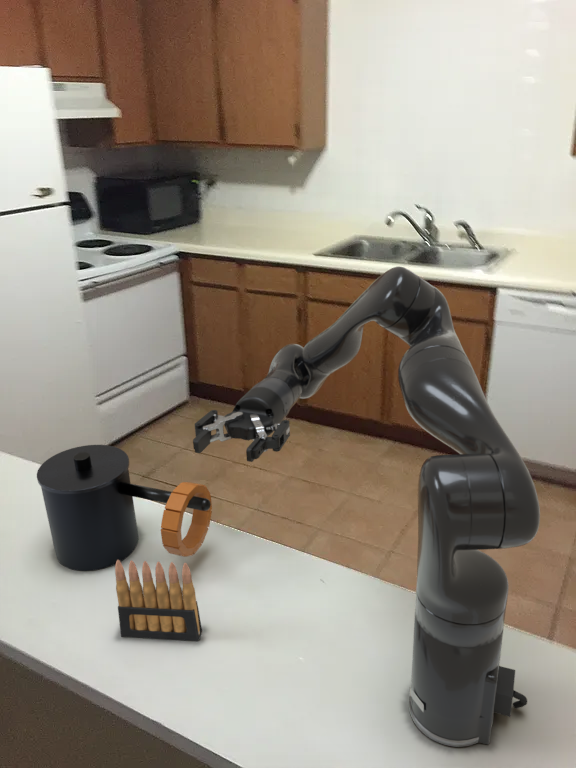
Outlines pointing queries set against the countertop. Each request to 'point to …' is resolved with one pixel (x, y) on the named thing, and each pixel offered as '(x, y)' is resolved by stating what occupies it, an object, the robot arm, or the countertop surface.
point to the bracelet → (175, 517)
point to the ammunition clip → (157, 604)
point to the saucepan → (95, 505)
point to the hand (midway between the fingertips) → (222, 451)
